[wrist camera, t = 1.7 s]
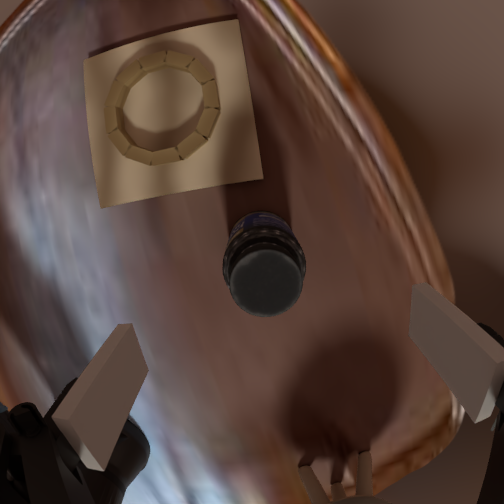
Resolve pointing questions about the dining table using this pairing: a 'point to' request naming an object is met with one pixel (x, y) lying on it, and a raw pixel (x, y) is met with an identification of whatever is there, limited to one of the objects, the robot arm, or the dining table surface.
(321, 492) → the planter
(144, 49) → the square socket plate
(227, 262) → the pill bottle
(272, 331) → the dining table surface
